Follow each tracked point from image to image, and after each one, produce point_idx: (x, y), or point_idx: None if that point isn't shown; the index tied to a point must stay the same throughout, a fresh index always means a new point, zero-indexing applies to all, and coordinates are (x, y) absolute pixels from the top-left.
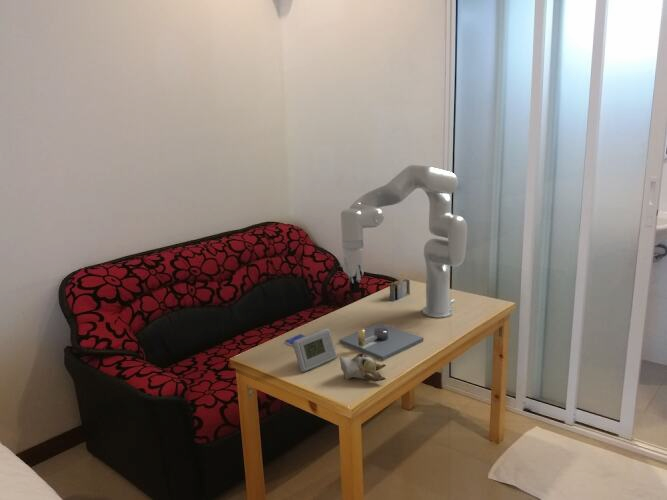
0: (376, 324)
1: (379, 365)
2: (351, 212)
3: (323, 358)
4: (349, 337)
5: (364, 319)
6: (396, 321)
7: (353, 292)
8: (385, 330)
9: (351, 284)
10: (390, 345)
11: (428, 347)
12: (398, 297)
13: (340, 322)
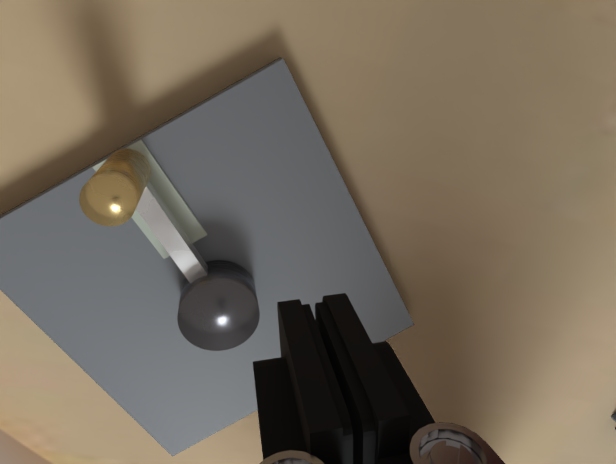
0: (399, 306)
1: None
2: None
3: None
4: (287, 129)
5: (512, 267)
6: (421, 386)
7: (282, 335)
8: (207, 338)
9: (306, 419)
10: (112, 313)
11: (103, 447)
12: None
13: (543, 144)
